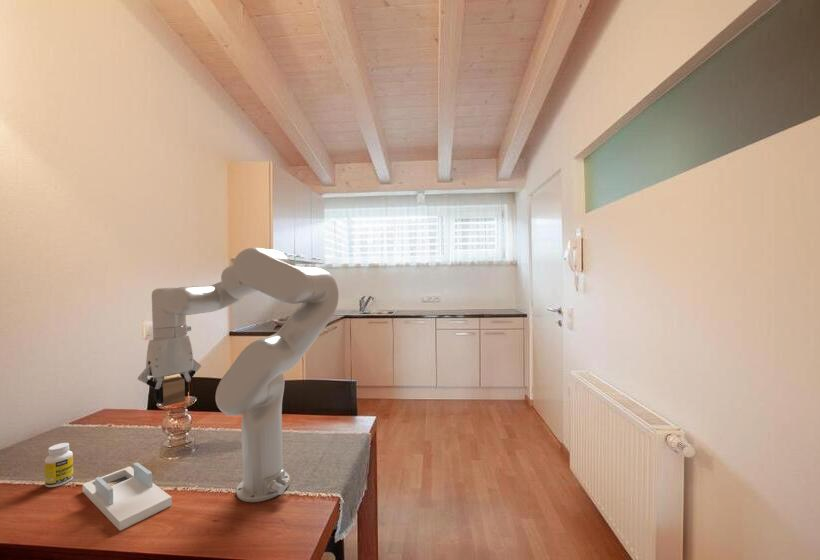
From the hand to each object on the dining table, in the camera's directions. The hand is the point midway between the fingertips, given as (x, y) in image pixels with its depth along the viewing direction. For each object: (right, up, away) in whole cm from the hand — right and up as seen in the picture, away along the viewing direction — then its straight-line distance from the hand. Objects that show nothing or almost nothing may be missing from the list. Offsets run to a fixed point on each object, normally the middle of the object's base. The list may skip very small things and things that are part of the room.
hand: (172, 398), depth 96 cm
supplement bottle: (-29, -22, -1) cm, 37 cm away
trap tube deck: (-5, -22, -9) cm, 24 cm away
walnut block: (0, -1, 0) cm, 1 cm away
